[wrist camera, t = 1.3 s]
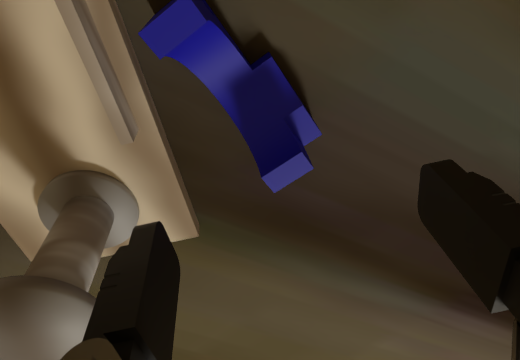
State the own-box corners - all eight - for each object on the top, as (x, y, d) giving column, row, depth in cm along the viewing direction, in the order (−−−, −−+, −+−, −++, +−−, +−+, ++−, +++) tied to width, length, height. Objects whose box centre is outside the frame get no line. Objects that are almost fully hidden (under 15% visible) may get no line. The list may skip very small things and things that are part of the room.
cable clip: (311, 117, 27) (334, 155, 22) (263, 149, 28) (274, 192, 23) (212, -35, 21) (212, -29, 16) (155, 14, 22) (137, 33, 17)
